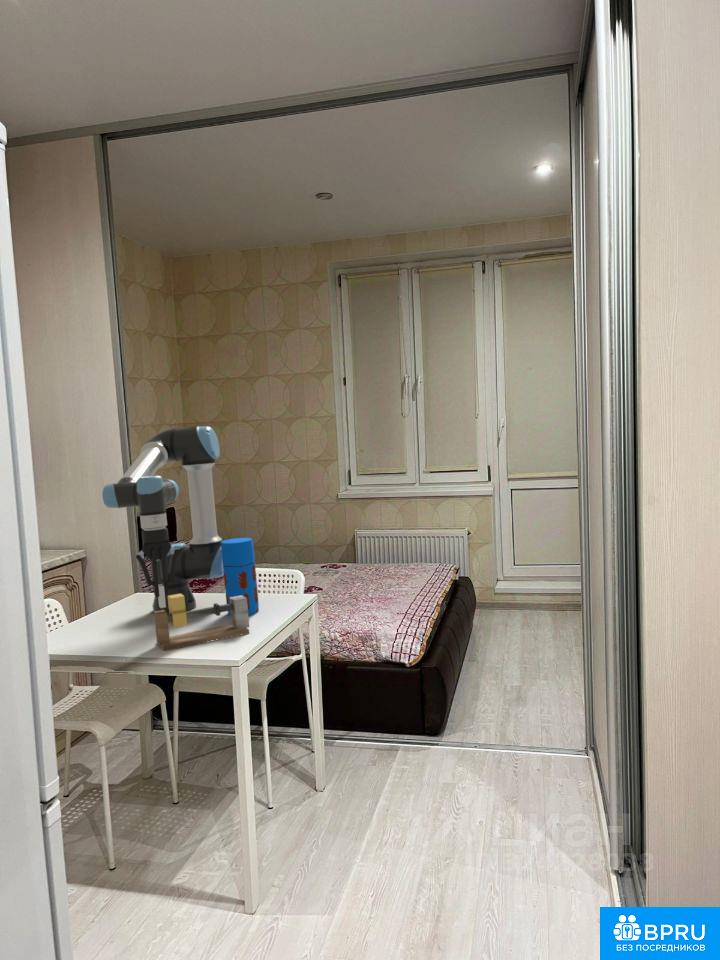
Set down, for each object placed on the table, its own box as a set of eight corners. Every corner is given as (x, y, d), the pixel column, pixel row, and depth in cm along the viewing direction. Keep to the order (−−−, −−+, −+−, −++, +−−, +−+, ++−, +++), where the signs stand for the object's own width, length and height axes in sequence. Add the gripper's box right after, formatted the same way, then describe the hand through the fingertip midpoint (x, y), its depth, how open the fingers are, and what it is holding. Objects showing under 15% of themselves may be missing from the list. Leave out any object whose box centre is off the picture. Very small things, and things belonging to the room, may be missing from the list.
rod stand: (155, 643, 228) (151, 609, 227) (242, 626, 240) (239, 594, 239) (162, 651, 219) (158, 616, 218) (252, 632, 231) (249, 599, 230)
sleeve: (170, 624, 227) (167, 595, 226) (183, 622, 229) (180, 593, 228) (173, 627, 223) (170, 598, 222) (187, 625, 225) (184, 595, 224)
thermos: (264, 608, 262) (257, 537, 260) (251, 616, 251) (244, 542, 249) (235, 608, 265) (229, 538, 263) (222, 616, 254) (215, 543, 252)
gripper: (134, 532, 215) (142, 613, 217) (179, 526, 221) (187, 605, 223) (129, 530, 222) (137, 608, 224) (173, 524, 228) (181, 600, 230)
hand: (162, 606), depth 224 cm, fingers closed
